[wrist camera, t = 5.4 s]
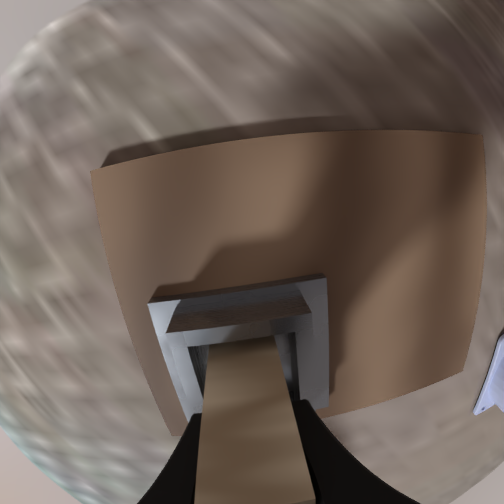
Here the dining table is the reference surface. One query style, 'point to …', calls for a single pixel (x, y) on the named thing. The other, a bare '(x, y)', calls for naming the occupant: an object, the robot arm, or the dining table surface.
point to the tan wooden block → (249, 430)
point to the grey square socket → (247, 333)
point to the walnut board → (311, 246)
